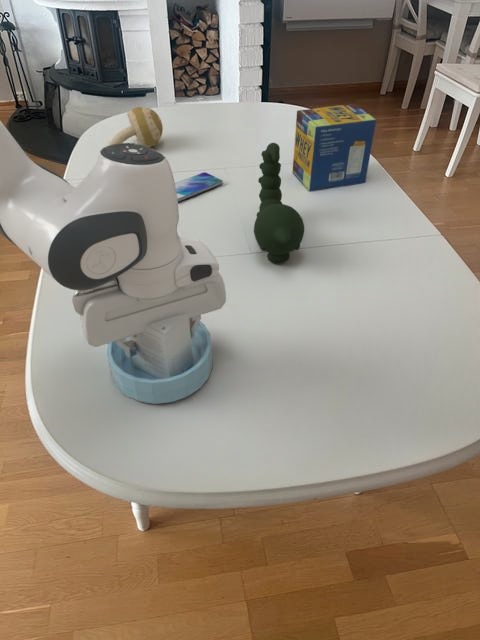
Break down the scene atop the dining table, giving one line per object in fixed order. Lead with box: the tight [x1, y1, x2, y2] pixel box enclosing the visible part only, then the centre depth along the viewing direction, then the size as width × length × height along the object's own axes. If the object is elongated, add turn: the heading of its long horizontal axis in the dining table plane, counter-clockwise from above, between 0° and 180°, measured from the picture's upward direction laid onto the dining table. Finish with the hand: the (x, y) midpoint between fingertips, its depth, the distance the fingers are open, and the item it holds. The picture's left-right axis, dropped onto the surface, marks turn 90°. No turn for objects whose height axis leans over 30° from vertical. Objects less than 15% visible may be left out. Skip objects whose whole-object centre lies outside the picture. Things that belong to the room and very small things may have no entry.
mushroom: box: [107, 106, 164, 148], centre depth 138 cm, size 10×11×15 cm
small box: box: [126, 313, 193, 379], centre depth 76 cm, size 8×6×10 cm
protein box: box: [292, 103, 377, 192], centre depth 123 cm, size 10×15×16 cm
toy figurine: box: [253, 142, 305, 265], centre depth 100 cm, size 9×19×25 cm
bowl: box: [106, 320, 213, 405], centre depth 78 cm, size 15×15×5 cm
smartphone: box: [175, 171, 223, 203], centre depth 123 cm, size 7×1×15 cm
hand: (160, 344), depth 77 cm, fingers closed on small box, 7 cm apart
